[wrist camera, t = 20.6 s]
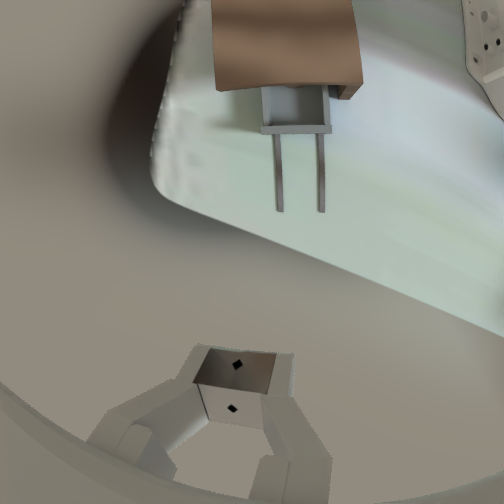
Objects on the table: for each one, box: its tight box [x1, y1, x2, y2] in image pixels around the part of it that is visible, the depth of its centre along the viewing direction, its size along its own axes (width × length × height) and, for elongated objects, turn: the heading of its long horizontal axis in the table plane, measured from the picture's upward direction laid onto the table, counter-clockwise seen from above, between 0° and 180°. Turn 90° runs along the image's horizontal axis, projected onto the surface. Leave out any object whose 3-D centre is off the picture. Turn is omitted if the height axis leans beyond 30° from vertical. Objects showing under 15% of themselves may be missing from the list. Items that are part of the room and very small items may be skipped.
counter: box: [211, 0, 363, 213], centre depth 24 cm, size 26×12×10 cm, turn 4°
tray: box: [261, 85, 332, 135], centre depth 25 cm, size 12×7×4 cm, turn 4°
